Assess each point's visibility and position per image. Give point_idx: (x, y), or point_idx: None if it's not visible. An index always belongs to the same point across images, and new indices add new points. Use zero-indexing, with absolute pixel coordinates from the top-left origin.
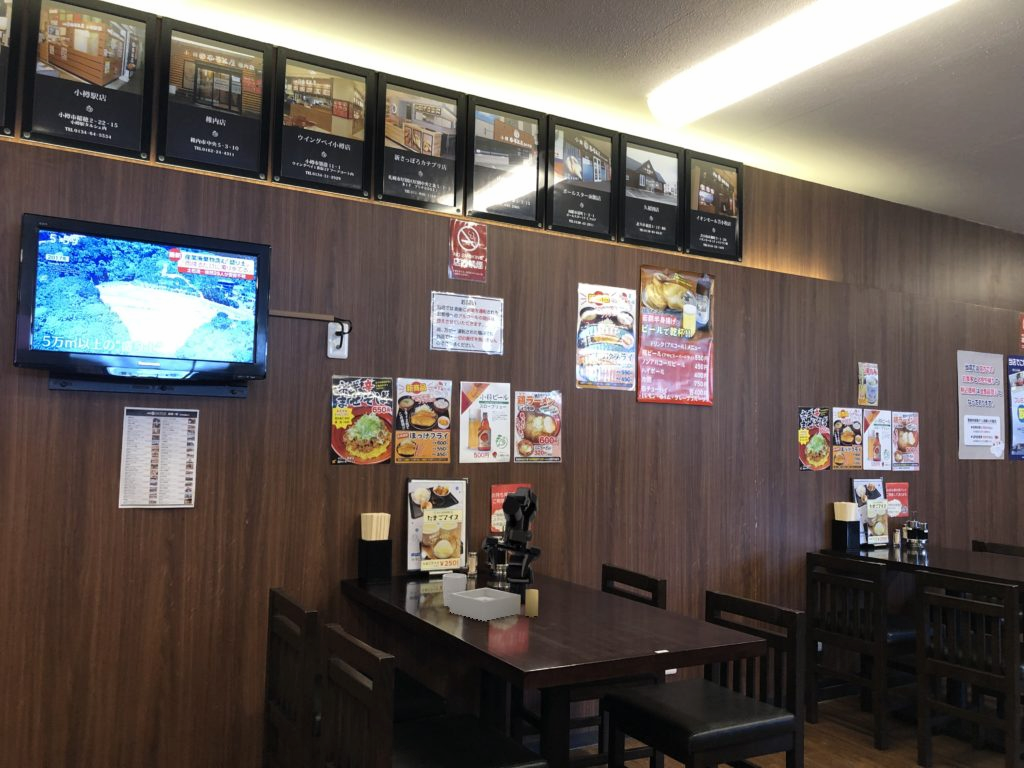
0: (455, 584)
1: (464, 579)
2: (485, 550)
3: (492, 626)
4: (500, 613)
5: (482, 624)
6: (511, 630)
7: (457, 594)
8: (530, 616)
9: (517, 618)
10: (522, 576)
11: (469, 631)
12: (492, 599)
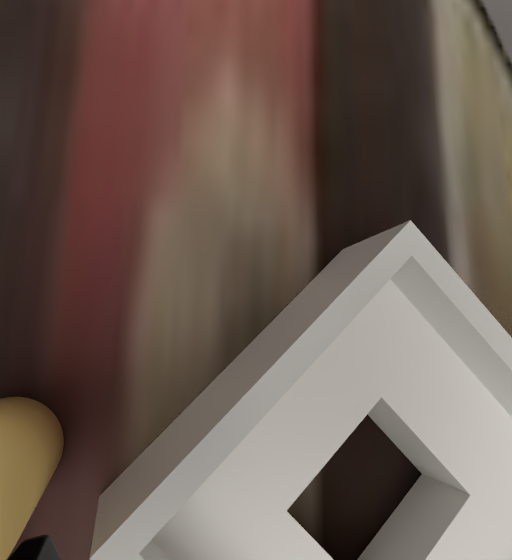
0: None
1: None
2: None
3: (295, 139)
4: (256, 344)
5: (349, 186)
6: (189, 40)
7: None
8: (24, 397)
9: (131, 352)
10: (51, 543)
11: (403, 45)
12: (358, 312)
